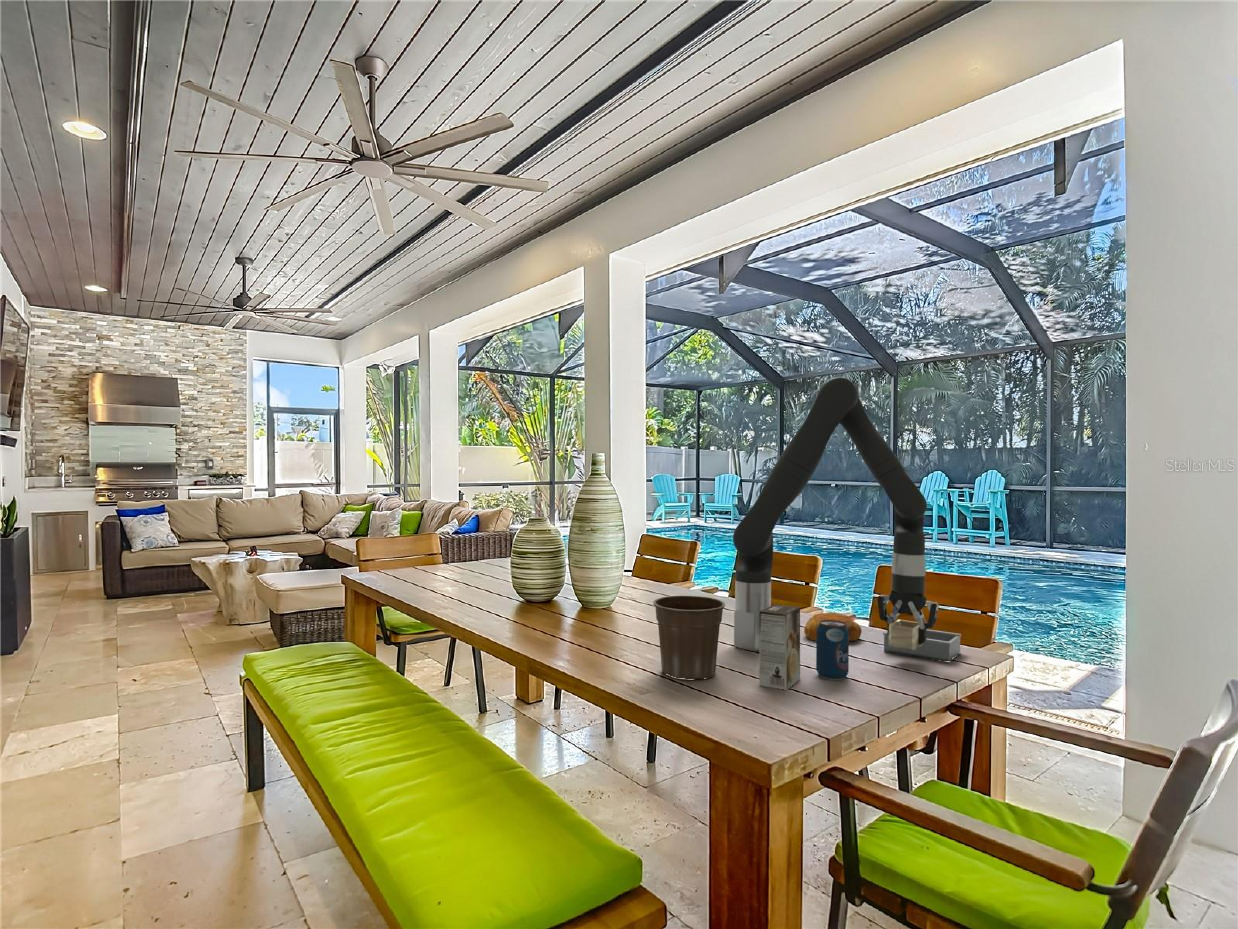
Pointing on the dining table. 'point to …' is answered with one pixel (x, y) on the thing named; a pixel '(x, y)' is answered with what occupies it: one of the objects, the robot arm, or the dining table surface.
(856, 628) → the croissant
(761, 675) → the coffee box
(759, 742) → the dining table surface
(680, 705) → the dining table surface
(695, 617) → the plant pot
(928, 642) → the box
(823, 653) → the soda can
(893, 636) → the small crate
